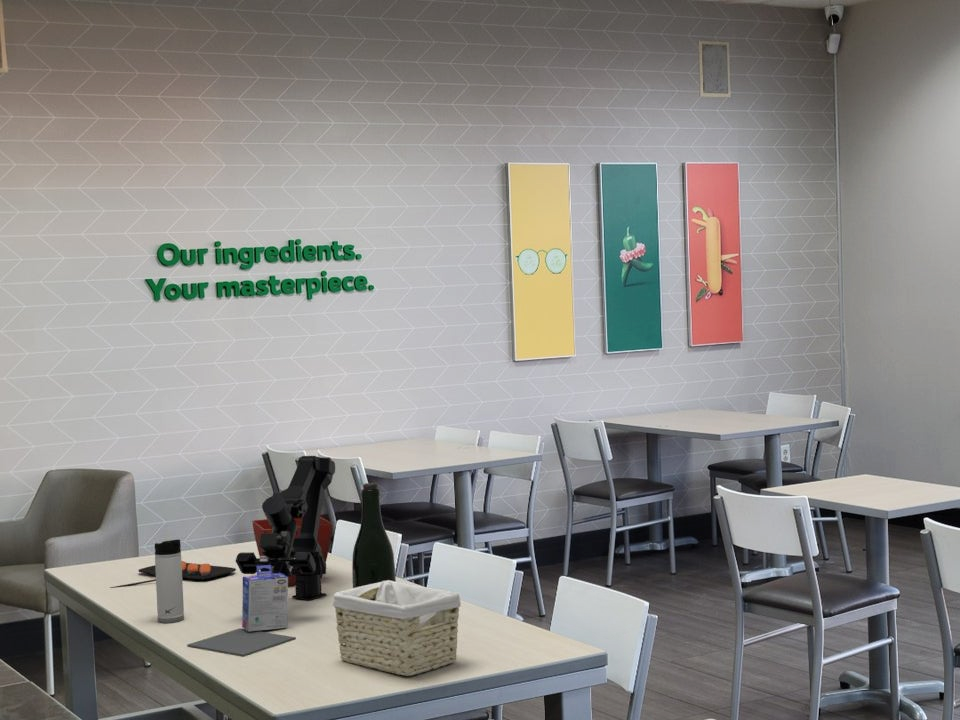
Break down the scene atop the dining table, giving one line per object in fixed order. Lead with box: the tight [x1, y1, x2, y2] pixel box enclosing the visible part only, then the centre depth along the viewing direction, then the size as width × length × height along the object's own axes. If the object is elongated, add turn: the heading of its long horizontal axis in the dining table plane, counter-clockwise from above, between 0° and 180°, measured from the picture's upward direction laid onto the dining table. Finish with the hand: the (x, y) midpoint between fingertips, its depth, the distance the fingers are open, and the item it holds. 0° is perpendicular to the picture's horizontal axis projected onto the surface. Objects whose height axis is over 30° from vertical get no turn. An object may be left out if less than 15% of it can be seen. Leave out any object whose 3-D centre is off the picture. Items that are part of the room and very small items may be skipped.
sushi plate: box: [109, 560, 237, 589], centre depth 342 cm, size 29×30×4 cm
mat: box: [186, 627, 297, 658], centre depth 267 cm, size 16×18×1 cm
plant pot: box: [251, 516, 333, 587], centre depth 332 cm, size 19×19×17 cm
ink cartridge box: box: [241, 565, 289, 632], centre depth 278 cm, size 10×6×14 cm, turn 120°
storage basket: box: [332, 580, 462, 677], centre depth 247 cm, size 24×16×15 cm
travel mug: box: [154, 538, 185, 624], centre depth 291 cm, size 6×7×20 cm
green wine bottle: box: [351, 482, 397, 601], centre depth 282 cm, size 10×10×33 cm
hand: (268, 592), depth 282 cm, fingers closed
